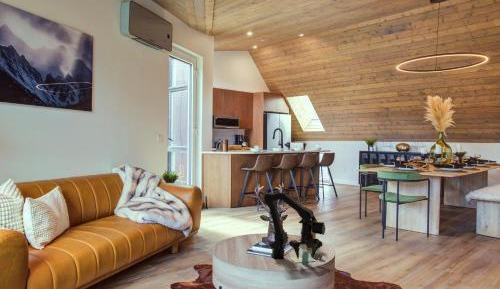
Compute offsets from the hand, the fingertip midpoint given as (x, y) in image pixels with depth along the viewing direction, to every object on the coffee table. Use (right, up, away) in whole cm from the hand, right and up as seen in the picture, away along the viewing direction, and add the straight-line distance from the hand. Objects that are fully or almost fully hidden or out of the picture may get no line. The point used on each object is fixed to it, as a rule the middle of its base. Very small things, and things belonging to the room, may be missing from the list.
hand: (305, 258), depth 209 cm
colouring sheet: (-1, -3, +7) cm, 7 cm away
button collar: (+9, -3, +12) cm, 15 cm away
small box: (+6, -3, +30) cm, 31 cm away
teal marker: (0, -3, 0) cm, 3 cm away
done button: (+9, -2, +12) cm, 15 cm away
